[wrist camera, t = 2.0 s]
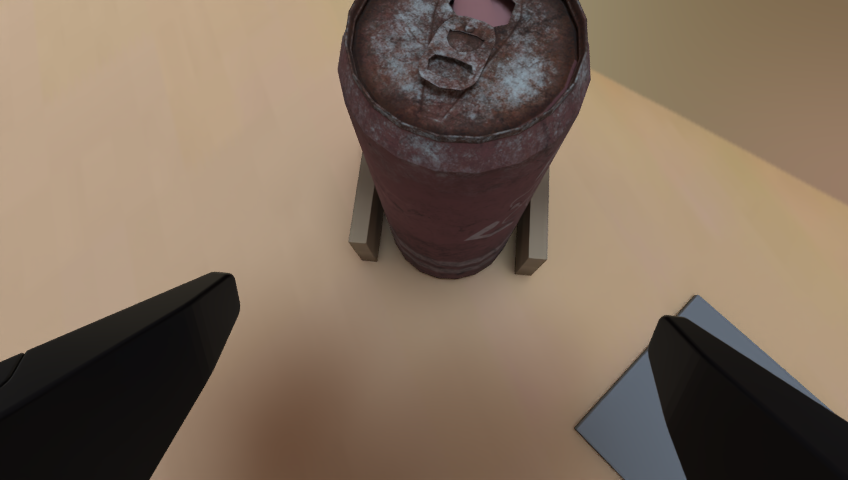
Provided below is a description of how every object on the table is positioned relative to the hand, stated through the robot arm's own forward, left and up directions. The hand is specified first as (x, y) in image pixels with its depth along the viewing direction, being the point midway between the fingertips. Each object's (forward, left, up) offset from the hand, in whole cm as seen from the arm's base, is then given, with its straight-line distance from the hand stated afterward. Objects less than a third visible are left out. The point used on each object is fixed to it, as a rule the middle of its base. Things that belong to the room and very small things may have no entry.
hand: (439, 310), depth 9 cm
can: (+5, +4, -13) cm, 14 cm away
